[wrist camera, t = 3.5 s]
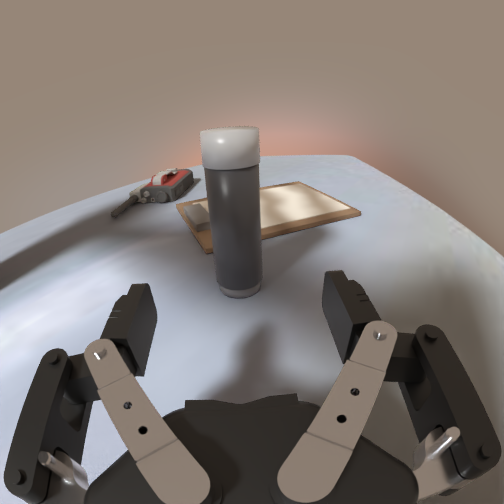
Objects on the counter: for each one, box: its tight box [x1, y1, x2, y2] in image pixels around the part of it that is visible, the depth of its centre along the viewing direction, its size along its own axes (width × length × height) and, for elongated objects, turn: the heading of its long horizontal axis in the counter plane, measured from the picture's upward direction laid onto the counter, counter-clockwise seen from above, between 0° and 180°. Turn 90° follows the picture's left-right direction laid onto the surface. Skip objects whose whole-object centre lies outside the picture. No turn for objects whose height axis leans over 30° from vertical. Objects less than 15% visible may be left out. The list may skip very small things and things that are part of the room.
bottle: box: [200, 126, 262, 298], centre depth 23 cm, size 4×4×14 cm
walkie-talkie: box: [111, 168, 194, 217], centre depth 49 cm, size 9×4×20 cm
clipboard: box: [176, 181, 361, 254], centre depth 42 cm, size 22×16×2 cm
